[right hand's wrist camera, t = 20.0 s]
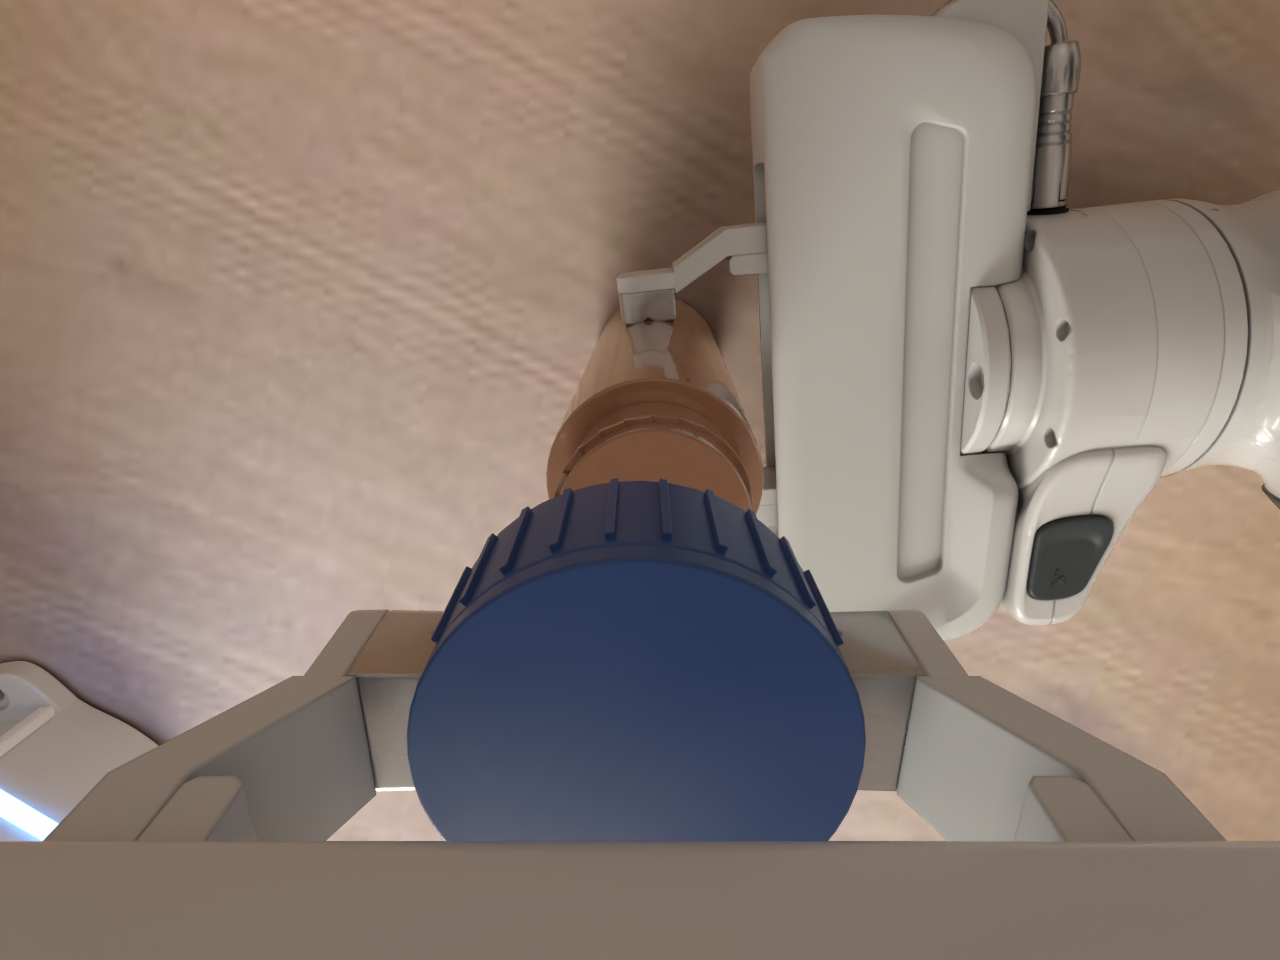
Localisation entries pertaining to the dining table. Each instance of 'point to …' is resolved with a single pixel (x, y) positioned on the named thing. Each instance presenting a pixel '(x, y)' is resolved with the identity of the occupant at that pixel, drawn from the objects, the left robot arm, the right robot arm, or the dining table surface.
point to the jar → (658, 414)
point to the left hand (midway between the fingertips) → (630, 393)
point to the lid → (636, 681)
